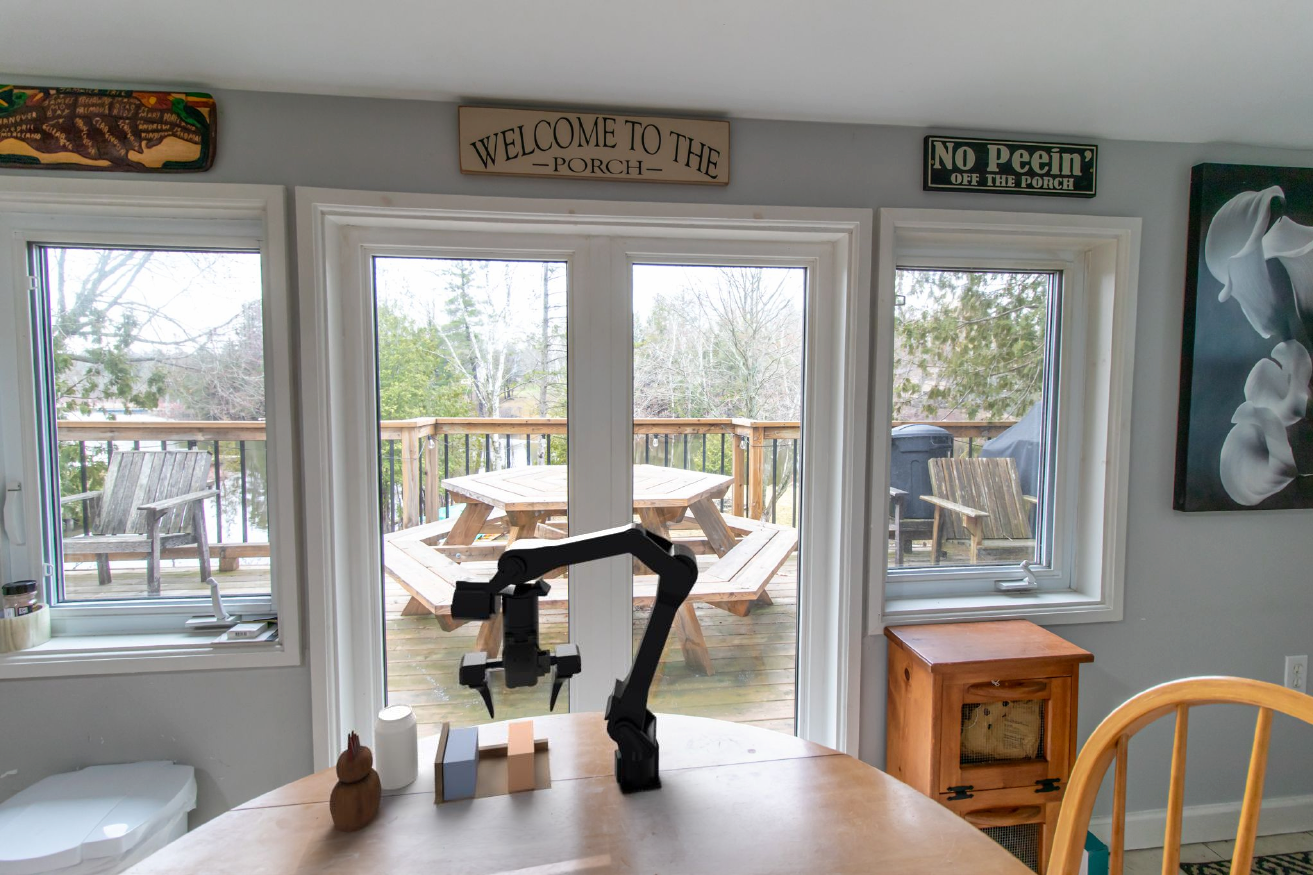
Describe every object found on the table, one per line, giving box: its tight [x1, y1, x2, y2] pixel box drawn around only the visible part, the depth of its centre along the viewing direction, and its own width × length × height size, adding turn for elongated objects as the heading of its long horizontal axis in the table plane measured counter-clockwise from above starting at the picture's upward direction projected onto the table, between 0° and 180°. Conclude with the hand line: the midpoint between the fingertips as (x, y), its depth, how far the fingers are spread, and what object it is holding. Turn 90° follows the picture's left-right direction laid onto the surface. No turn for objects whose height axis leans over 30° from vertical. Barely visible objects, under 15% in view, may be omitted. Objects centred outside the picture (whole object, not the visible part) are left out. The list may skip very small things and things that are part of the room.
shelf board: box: [433, 721, 552, 806], centre depth 98 cm, size 18×11×8 cm, turn 103°
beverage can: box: [373, 703, 419, 791], centre depth 96 cm, size 6×6×12 cm
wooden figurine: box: [329, 730, 382, 833], centre depth 87 cm, size 7×6×15 cm
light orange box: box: [507, 720, 535, 792], centre depth 98 cm, size 4×9×6 cm, turn 13°
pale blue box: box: [443, 726, 480, 801], centre depth 96 cm, size 4×9×6 cm, turn 13°
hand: (522, 713), depth 97 cm, fingers open, 9 cm apart
